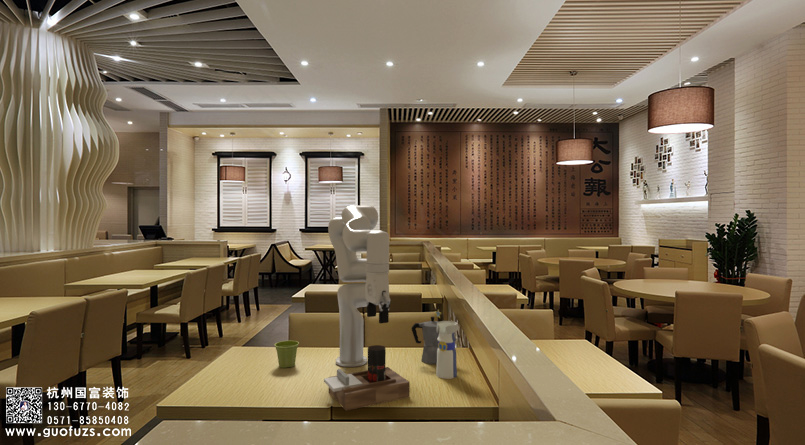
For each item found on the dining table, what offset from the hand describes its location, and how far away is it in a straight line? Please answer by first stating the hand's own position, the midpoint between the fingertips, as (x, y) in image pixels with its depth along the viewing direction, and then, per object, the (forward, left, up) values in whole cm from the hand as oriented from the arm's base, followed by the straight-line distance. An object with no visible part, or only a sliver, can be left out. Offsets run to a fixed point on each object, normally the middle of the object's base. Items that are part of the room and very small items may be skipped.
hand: (377, 319), depth 148 cm
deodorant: (0, 0, -25) cm, 25 cm away
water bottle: (-2, +30, -25) cm, 38 cm away
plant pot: (-40, -20, -25) cm, 52 cm away
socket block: (+1, -3, -24) cm, 25 cm away
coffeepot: (-19, +33, -25) cm, 45 cm away
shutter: (+1, -12, -19) cm, 23 cm away
